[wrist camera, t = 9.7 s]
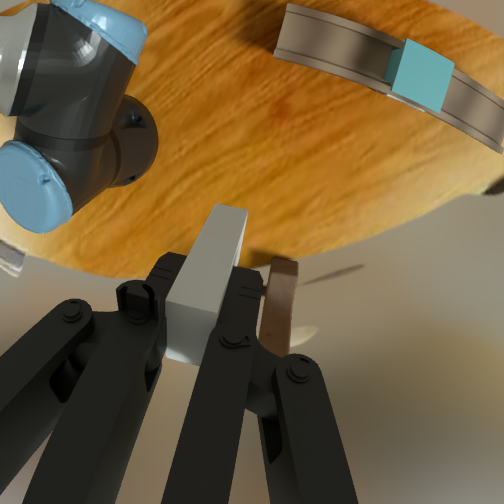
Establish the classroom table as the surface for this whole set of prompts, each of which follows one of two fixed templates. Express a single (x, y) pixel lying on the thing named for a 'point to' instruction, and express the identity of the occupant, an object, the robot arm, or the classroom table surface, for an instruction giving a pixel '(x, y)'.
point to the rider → (419, 74)
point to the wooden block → (278, 307)
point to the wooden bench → (383, 69)
